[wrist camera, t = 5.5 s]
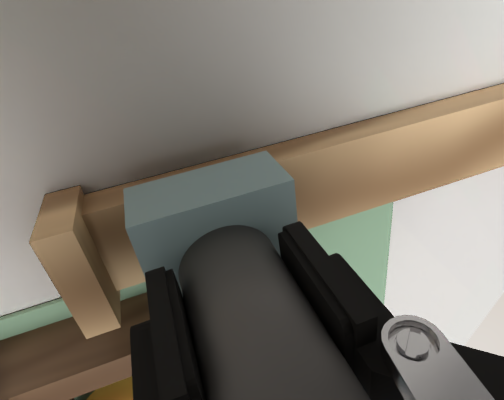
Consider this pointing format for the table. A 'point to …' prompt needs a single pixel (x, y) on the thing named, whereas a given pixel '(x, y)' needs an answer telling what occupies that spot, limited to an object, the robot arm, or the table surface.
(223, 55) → the table surface
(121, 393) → the ball
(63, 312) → the felt mat
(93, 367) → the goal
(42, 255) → the rail
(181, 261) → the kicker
